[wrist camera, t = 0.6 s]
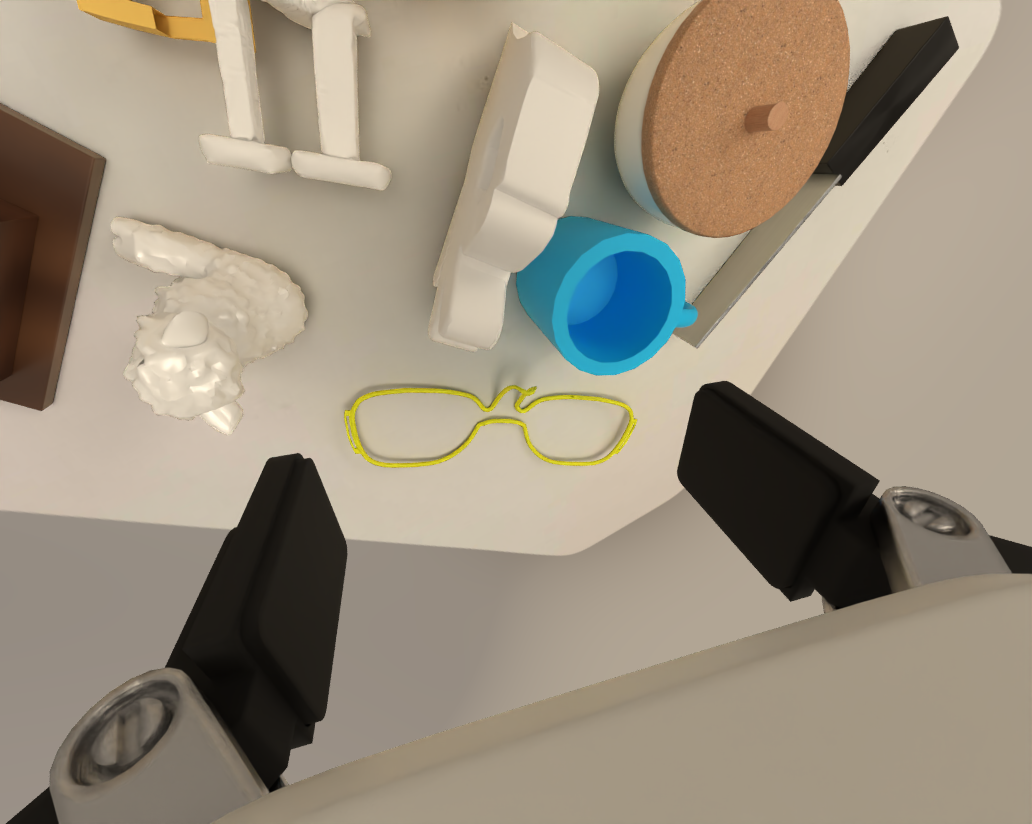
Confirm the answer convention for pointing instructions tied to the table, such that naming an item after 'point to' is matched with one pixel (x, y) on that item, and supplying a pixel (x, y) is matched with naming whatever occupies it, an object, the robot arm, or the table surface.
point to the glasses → (484, 422)
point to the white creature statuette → (204, 322)
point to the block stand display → (40, 251)
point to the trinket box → (732, 111)
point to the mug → (605, 295)
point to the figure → (228, 23)
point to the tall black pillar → (833, 159)
